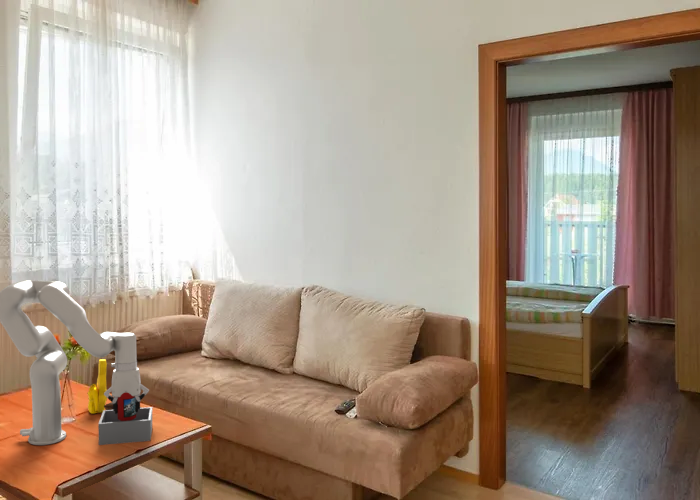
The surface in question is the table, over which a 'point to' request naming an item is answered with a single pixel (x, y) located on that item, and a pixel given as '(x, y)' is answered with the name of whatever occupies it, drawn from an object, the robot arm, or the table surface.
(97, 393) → the figure statuette
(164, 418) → the table surface
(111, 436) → the gray open storage box
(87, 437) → the table surface
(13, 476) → the table surface
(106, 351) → the robot arm
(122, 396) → the beverage can
